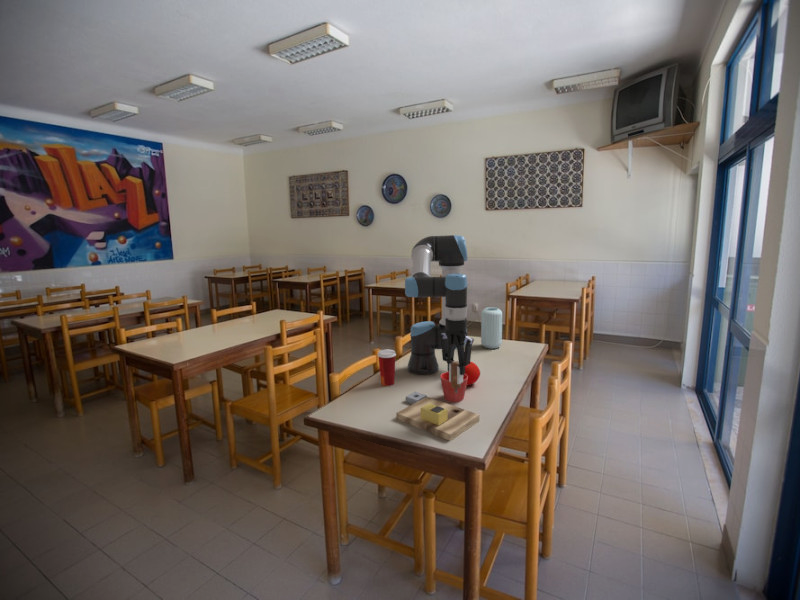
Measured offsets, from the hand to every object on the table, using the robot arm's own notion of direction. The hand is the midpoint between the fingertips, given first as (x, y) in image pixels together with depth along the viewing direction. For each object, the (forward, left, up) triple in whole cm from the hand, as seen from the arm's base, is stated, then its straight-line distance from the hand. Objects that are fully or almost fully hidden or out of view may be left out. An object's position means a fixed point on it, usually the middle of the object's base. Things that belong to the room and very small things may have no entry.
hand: (456, 381), depth 146 cm
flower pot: (-10, +13, -14) cm, 22 cm away
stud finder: (-3, -10, -12) cm, 15 cm away
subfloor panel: (-4, -6, -14) cm, 16 cm away
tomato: (-15, +29, -14) cm, 36 cm away
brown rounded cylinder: (0, 0, -4) cm, 4 cm away
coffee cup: (-42, +7, -14) cm, 45 cm away
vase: (-34, +84, -14) cm, 92 cm away
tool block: (-20, +1, -14) cm, 24 cm away
